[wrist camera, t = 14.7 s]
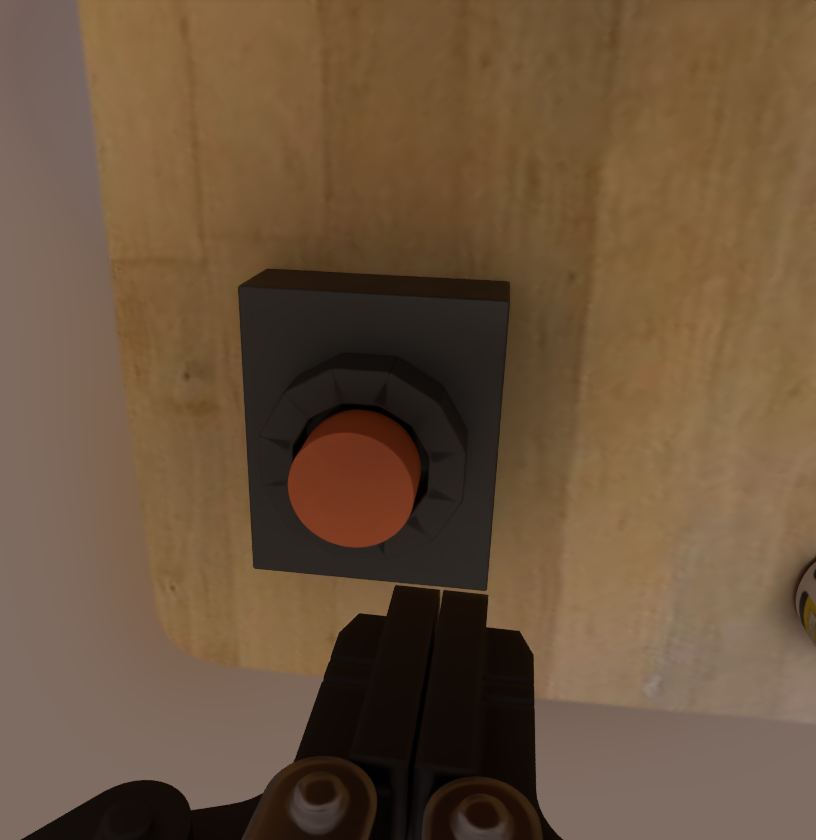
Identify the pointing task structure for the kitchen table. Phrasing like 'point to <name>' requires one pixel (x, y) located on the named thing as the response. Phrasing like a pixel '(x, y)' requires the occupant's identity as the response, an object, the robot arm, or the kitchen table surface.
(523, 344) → the kitchen table surface
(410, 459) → the round orange push button
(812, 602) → the supplement bottle
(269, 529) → the push button box
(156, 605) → the kitchen table surface
